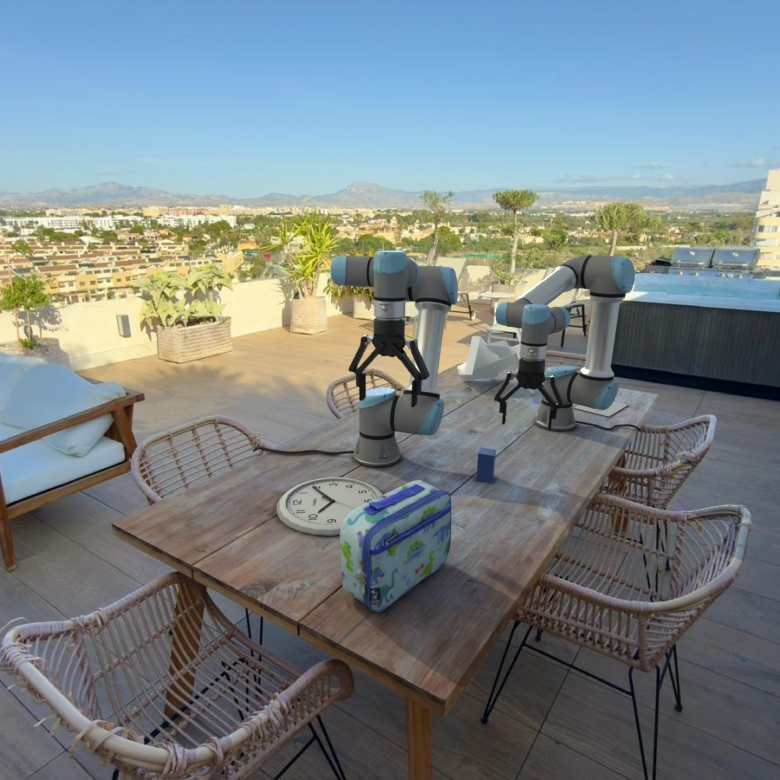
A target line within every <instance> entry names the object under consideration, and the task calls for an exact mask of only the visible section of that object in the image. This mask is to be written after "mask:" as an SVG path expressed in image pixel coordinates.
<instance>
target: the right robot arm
mask: <svg viewBox="0 0 780 780" xmlns="http://www.w3.org/2000/svg"><path fill="white" fill-rule="evenodd" d="M635 281H636V270H635V266H634V262H633V261H632V260H631V259H630V258H628V257H625V256H618V255H595V254H594V255H593V254H584V255H583V254H582V255H578V256H576V257H575V256H574V257H572V258H570V259H567V260H566V261H563V262H562V263H560V264H559V265H557V266H555V267H554V268H553V269H552V270H551V273H550V274H549V275H548V276H547V277H545V278H544V279H542V280H541V281H540V282H539V283H537V284H536V285H534V286H533V287H531V288H530V289H529V290H528V291H526V292H525V293H523V294H522V295H521V296H519V297H518V298H517V299H515V300H513V302H511V301H502V302H500V303H498V304H497V307H496V309H495V322H496V323H497V324H498V325H500V326H503V327H507V328H514V329H515V328H520V331H521V343H519V344H520V354H519V356H520V357H521V358H520V359H519V360H518V366H517V367H518V368H517V372H512V370H508V371H507V373H506V376H505V379H504V381H503V383H502V385H501V386H500V388H499V389H498V391H497V392H496V394H495V395H494V397H493V400H494V401H495V402H498V403H499V408H498V409H499V410H498V411H499V414H502V416H501V417H502V418H501V425H506V422H507V421H506V420H507V409H508V400H509V399H510V398H511V397H512V396H513V395H514V394H515V393H517V392H518V391H519V390H520V389H521V388H523V389H524V390H529V389H532V390H533V391H535V390H538V392H540V394H541V402H540V405H539V407H538V410H537V411H536V413H535V416H534V424H535V425H536V426H537V427H539V428H542V429H544V430H548V431H556V432H567V431H572V430H574V429H575V428H576V424H578V425H579V424H580V425H585V426H591V427H596V428H599V429H602V430H604V431H613V430H614V429H615V428H621V427H631V428H634V429H636V430H637V431H642V429H641V428H640V427H638V426H637V425H635V424H631V423H624V424H623V423H621V424H620V423H619V424H615V425H613V426H612V427H605V426H602V425H599V424H596V423H591V422H586V421H579V420H576V418H575V417H576V416H575V413H574V407H573V405H577V406H578V405H582V406H586V407H589V408H592V409H598V410H606V409H608V408H609V407H610V406H611V405H612V403H613V402H615V400H616V398H617V395H618V391H619V389H620V388H619V387H620V386H619V381H618V380H616V379H615V373H614V372H613V370H612V369H611V366H612V360H613V353H614V345H615V340H616V331H617V324H618V317H619V310H620V304H621V302H622V301H623V300H624V299H626V296H627V294H630V292H632V290H633V288H634V286H635ZM574 289H583V290H589V295H588V296H589V297H590V299H592V307H591V315H590V323H589V332H588V340H587V346H586V356H585V362H584V366H583V367H582V368H581V369H579V372H578V368H577V367H576V366H572V365H555V366H554V365H553V366H550V367H547V368H546V358H547V351H548V338H549V335H553V334H557V333H560V332H562V331H564V330H566V329H568V327H569V325H570V323H571V313H570V312H569V311H568V309H566V308H565V307H563V306H552V307H550V306H549V305H550V304H551V303H552V302H554V300H556V299H557V298H558V297H560V296H561V295H562V294H564V293H568V292H571V291H572V290H574ZM514 378H516V381H517V382H516V384H514V386H513V387H512V388H511V389H509V390H508V391H507V392H506V393H505V394H504V395H503V396H502V394H503V393H504V391H505V390H506V388H507V387H508V385H509V383H510V381H513V380H514ZM542 383H543V384H542ZM501 396H502V397H501Z"/></svg>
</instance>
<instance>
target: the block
mask: <svg viewBox="0 0 780 780" xmlns="http://www.w3.org/2000/svg"><path fill="white" fill-rule="evenodd" d="M496 454H497V449H494V448H486V447H479V450H478V453H477V462H476V463H477V464H476V475H475V476H476V477H475V481H476V482H482V483H488V484H492V483H493V479H494V477H495V467H496V466H495V465H496Z"/></svg>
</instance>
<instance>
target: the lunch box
mask: <svg viewBox="0 0 780 780" xmlns="http://www.w3.org/2000/svg"><path fill="white" fill-rule="evenodd" d="M383 494H384V495H382V496H380V497H378V498H376V499H374V500H372V501H370V502H368V503H366V504H364V505H362V506H360V507H358V508H356V509H354V510H353V511H351V512H350V513H349V514H348V515H347V516H346V518H345V519H344V521H343V523H342V526H341V530H340V535H339V551H340V574H341V576H340V577H341V585H342V588H343V589H342V590H343V591H344V593H346V594H348V595H350V596H352V597H353V598H355V599H357V600H358V601H359V602H361V603H362V604H364V605H365V606H366V608H367V609H369V610H370V611H371V612H374V613H381V612H384V611H385V610H386V609H387V608H389V607H390V606H391V605H392V604H393V603H395V602H396V601H397V600H399V599H400V598H401V597H402V596H404V595H405V594H407V593H408V592H410V591H411V590H412V589H413V588H415V587H416V586H417V585H418V584H419V583H420V582H421V581H423V580H425V579H426V578H427V577H429V576H430V575H432V574H434V573H435V572H436V571H438V570H439V569H440V568H441V567H442V566H443V565H444V563H445V562H446V560H447V558H448V556H449V553H450V550H451V549H450V548H451V545H452V543H451V542H452V497H451V494H450V492H449V491H448V490H446V489H438V488H437V487H435V486H434V485H431V484H429V483H427V482H426V481H424V480H421V479H416V480H413V481H410V482H408V483H405V484H403V485H401V486H399V487H397V488H394V489H393V490H390V491H388V492H387V493H383Z"/></svg>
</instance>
